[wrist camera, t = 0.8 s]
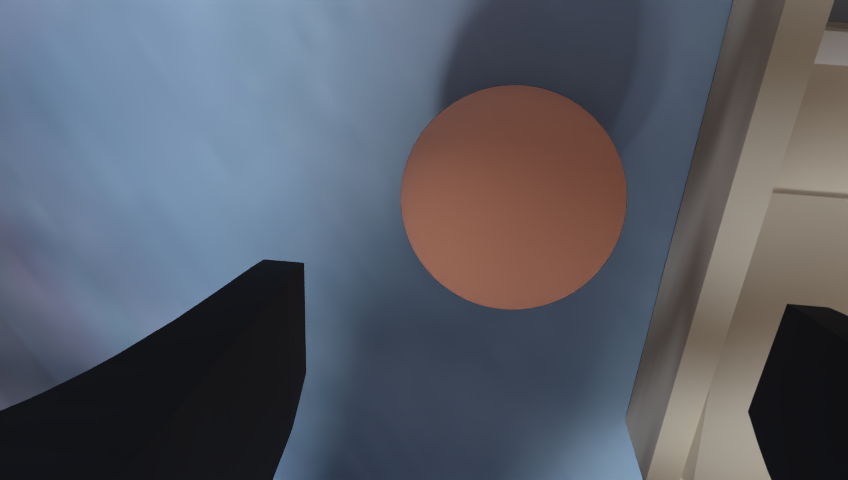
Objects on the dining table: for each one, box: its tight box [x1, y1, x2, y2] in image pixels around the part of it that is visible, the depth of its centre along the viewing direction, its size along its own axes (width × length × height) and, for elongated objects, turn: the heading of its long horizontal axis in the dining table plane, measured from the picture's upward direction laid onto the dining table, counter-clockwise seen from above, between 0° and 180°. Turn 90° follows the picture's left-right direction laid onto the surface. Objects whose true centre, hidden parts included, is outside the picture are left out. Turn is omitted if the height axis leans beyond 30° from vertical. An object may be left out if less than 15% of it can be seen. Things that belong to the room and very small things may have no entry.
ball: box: [401, 85, 627, 310], centre depth 15 cm, size 5×5×5 cm
